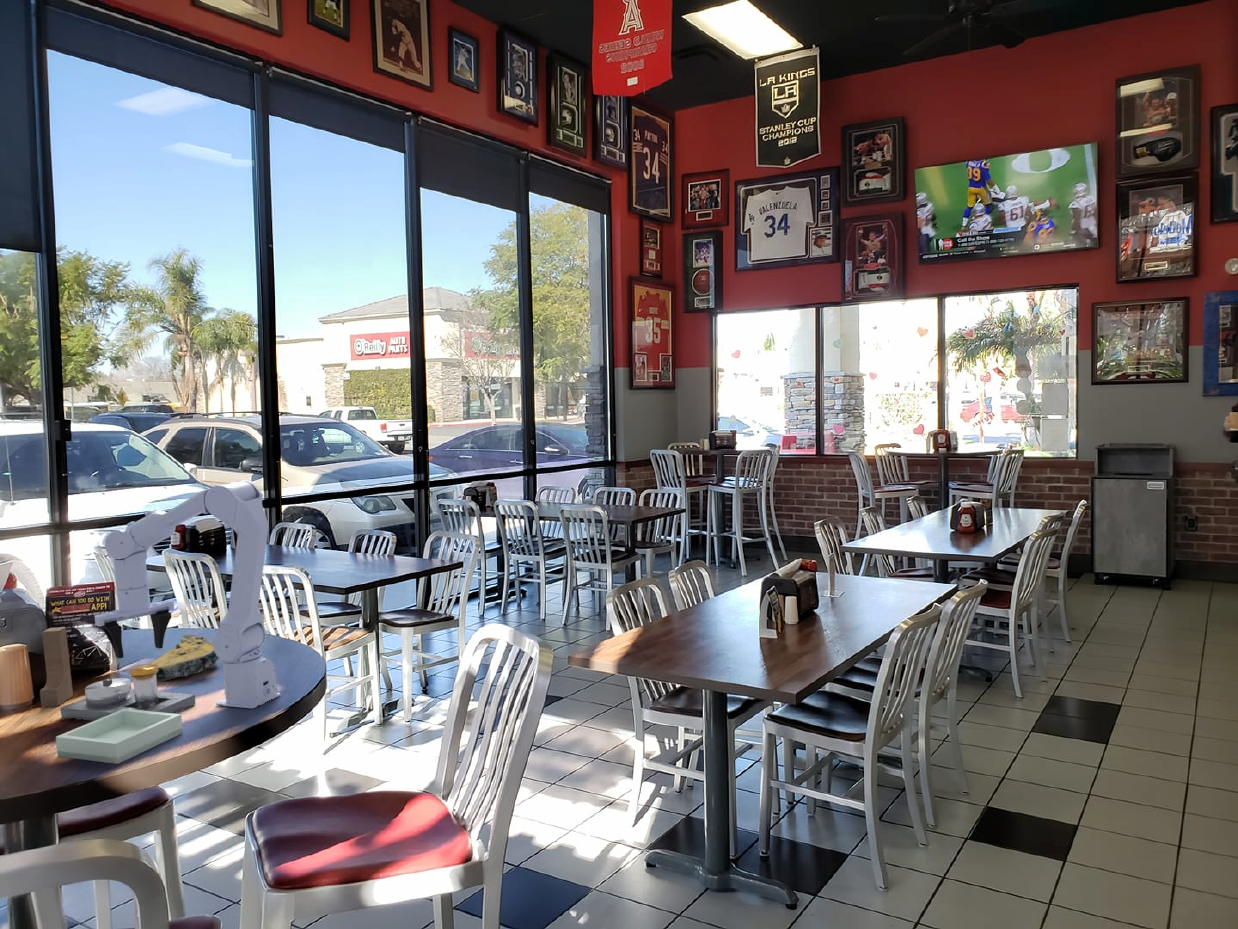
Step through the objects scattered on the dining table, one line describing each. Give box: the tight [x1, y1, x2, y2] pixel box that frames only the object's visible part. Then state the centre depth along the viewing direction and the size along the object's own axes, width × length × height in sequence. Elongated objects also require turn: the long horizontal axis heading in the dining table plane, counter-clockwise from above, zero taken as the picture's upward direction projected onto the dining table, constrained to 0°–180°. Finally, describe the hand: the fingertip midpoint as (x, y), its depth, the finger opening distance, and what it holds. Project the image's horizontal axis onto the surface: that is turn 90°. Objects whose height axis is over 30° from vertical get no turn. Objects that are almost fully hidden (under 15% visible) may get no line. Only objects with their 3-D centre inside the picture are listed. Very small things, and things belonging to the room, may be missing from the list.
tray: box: [55, 709, 184, 765], centre depth 164 cm, size 14×14×4 cm
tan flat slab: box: [151, 634, 220, 682], centre depth 212 cm, size 14×6×30 cm
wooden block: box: [39, 626, 74, 708], centre depth 189 cm, size 7×3×15 cm, turn 6°
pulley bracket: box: [59, 677, 196, 722], centre depth 182 cm, size 22×12×6 cm, turn 70°
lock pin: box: [128, 663, 159, 709], centre depth 180 cm, size 5×5×9 cm
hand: (139, 652), depth 187 cm, fingers open, 7 cm apart
